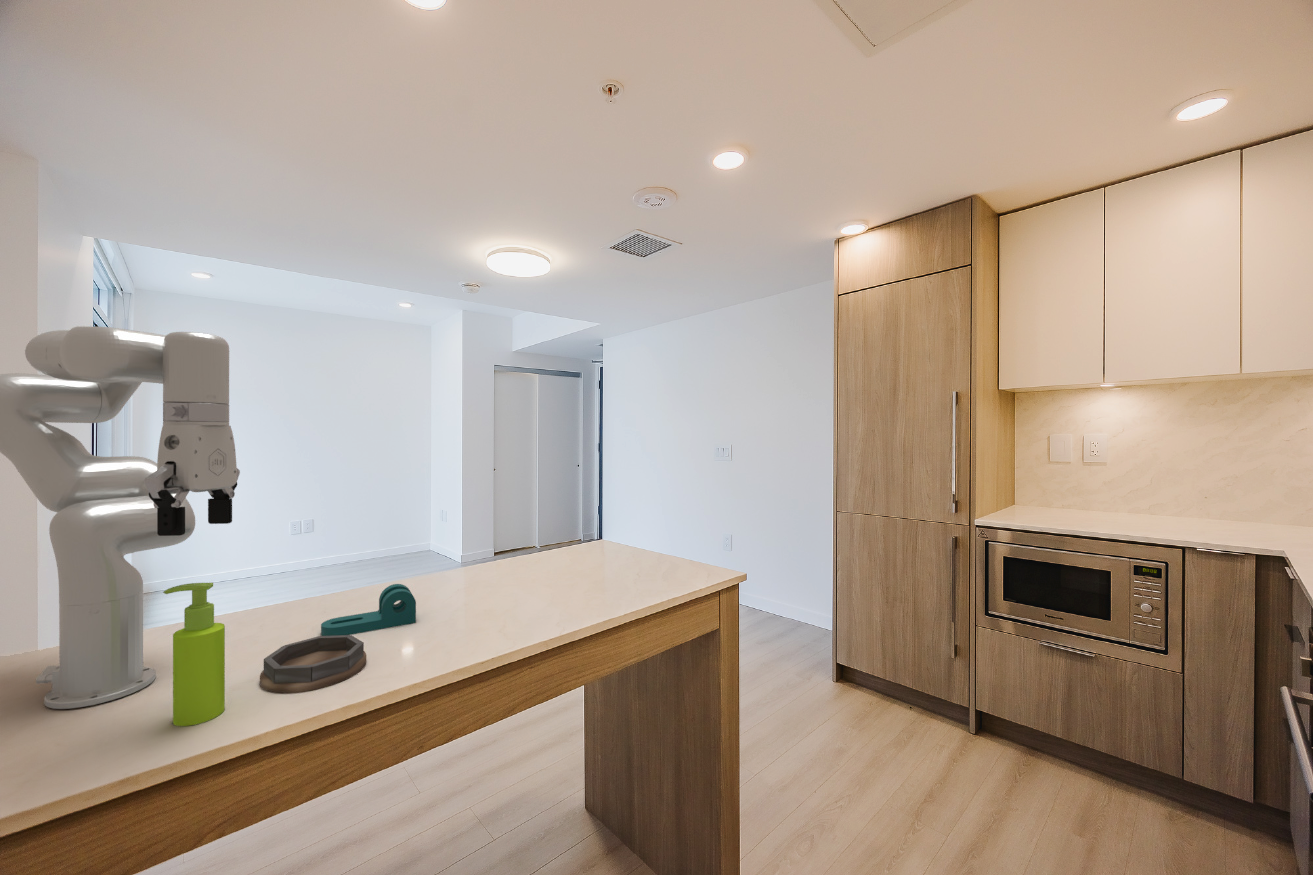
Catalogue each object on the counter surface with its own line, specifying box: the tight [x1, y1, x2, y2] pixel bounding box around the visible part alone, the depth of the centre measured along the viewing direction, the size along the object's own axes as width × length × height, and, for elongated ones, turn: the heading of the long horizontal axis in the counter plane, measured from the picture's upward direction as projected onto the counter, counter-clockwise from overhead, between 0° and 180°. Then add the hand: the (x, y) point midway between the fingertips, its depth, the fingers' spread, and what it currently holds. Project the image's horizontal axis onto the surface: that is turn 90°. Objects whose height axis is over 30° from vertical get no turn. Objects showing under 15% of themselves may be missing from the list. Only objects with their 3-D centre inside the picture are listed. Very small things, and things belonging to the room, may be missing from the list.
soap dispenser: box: [162, 582, 226, 727], centre depth 79 cm, size 6×7×20 cm
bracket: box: [320, 583, 417, 636], centre depth 115 cm, size 18×7×8 cm, turn 124°
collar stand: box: [259, 634, 367, 694], centre depth 94 cm, size 16×16×4 cm
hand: (197, 528), depth 79 cm, fingers open, 9 cm apart
